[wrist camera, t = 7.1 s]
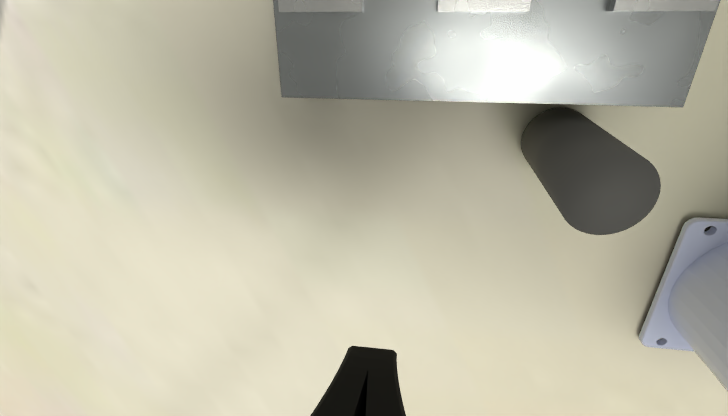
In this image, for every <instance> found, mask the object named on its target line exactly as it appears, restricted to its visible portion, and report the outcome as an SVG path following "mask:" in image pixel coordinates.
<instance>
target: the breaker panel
mask: <svg viewBox="0 0 728 416" xmlns="http://www.w3.org/2000/svg"><path fill="white" fill-rule="evenodd" d="M273 3H274V15H275V26H276V37H277V49H278V60H279V71H280V82H281V94H282V97H294V98H335V99H375V100H415V101H455V102H495V103H535V104H575V105H616V106H656V107H683V106H684V103H685V100H686V97H687V95H688V92H689V89H690V86H691V83H692V80H693V77H694V74H695V72H696V69H697V66H698V63H699V60H700V57H701V54H702V52H703V49H704V46H705V43H706V40H707V37H708V34H709V31H710V29H711V26H712V23H713V20H714V17H715V14H716V11H717V9H718V6H719V3H720V0H273Z"/></svg>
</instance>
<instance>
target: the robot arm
mask: <svg viewBox="0 0 728 416" xmlns="http://www.w3.org/2000/svg"><path fill="white" fill-rule="evenodd" d="M709 226H711V228H710V229H709V230H707V231H704V230H705V229H706V228H707V227H709ZM660 338H662V339H660ZM658 339H660V340H658ZM639 340H640V341H641V343H642V344H643V345H644V346H647V347H654V348H665V349H675V350H686V351H695V352H696V354H697V355H698V356H699V357H700V358H701V360H702V361H703V362H704V363H705V364H706V366H707V367H708V368H709V369H710V371H711V372H712V373H713V374H714V375H715V377H716V378H717V379H718V380H719V382H720V383H721V384H722V385H723V386H724V388H725V389H726V390H727V391H728V219H717V218H699V217H697V218H692V219H689V220H688V221H687V222H685V224H684V225H683V227H682V230H681V232H680V235H679V237H678V240H677V242H676V245H675V247H674V250H673V252H672V255H671V257H670V259H669V262H668V264H667V267H666V269H665V272H664V274H663V277H662V279H661V282H660V284H659V287H658V289H657V292H656V294H655V297H654V299H653V302H652V304H651V307H650V309H649V312H648V314H647V317H646V319H645V322H644V324H643V327H642V329H641V332H640V334H639ZM396 358H397V353H396V352H395V351H394V350H387V349H378V348H368V347H358V346H351V347H350V348H348V351H347V353H346V355H345V358H344V360H343V362H342V364H341V366H340V368H339V370H338V372H337V373H336V375H335V377H334V379H333V381H332V382H331V384H330V386H329V387H328V389H327V391H326V392H325V394H324V395H323V397H322V399H321V400H320V402H319V404H318V405H317V407H316V408H315V410H314V411H313V413H312V414H311V416H406V415H405V410H404V406H403V402H402V398H401V393H400V387H399V381H398V374H397V361H396Z"/></svg>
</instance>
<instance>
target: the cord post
mask: <svg viewBox="0 0 728 416" xmlns="http://www.w3.org/2000/svg"><path fill="white" fill-rule="evenodd" d="M521 147H522V152H523V155H524V157H525V158H526V160H527V162H528V163H529V165H530V166H531V168H532V169H533V171H534V172H535V174H536V175H537V177H538V178H539V180H540V182H541V183H542V185H543V186H544V188H545V189H546V191H547V192H548V194H549V195H550V197H551V198H552V200H553V202H554V203H555V205H556V206H557V208H558V209H559V211H560V212H561V214H562V215H563V217H564V218H565V220H566V221H567V222H568V223H569V224H570V225H571V226H572V227H574V228H575V229H577V230H579V231H581V232H584V233H588V234H594V235H606V234H613V233H617V232H620V231H623V230H626V229H628V228H630V227H632V226H634V225H635V224H637V223H638V222H640V221H641V220H642V219H643V218H644V217H646V216H647V215H648V213H649V212H650V211H651V210H652V208H653V207H654V205H655V204H656V202H657V199H658V197H659V193H660V186H661V184H660V178H659V174H658V172H657V170H656V169H655V167H654V166H653V165H652V164H651V163H650V162H649V161H648V160H646V159H645V158H643V157H642V156H641V155H639V154H638V153H636V152H635V151H633V150H632V149H631V148H629V147H628V146H626V145H625V144H623V143H622V142H621V141H619V140H618V139H616V138H615V137H613V136H612V135H611V134H609V133H608V132H606V131H605V130H603V129H602V128H601V127H599V126H598V125H596V124H595V123H593V122H592V121H591V120H589V119H588V118H586V117H585V116H583V115H582V114H580V113H579V112H577V111H575V110H573V109H569V108H555V109H550V110H547V111H545V112H543V113H541V114H539V115H538V116H537V117H535V118H534V119H533V120H532V121H531V122H530V123H529V124H528V126H527V127H526V129H525V131H524V133H523V136H522V141H521Z"/></svg>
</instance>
